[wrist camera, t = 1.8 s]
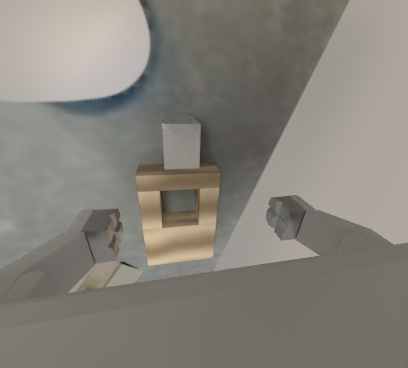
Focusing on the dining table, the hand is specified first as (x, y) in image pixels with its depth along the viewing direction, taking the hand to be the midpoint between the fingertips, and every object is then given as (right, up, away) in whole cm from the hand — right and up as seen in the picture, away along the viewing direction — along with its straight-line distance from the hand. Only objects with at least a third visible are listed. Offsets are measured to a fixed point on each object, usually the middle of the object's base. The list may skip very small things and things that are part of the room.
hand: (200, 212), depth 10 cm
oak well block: (-4, -3, +23) cm, 24 cm away
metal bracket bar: (-4, +9, +17) cm, 20 cm away
